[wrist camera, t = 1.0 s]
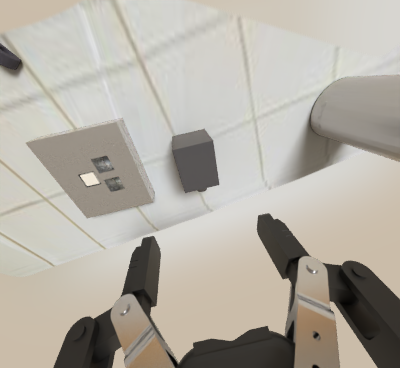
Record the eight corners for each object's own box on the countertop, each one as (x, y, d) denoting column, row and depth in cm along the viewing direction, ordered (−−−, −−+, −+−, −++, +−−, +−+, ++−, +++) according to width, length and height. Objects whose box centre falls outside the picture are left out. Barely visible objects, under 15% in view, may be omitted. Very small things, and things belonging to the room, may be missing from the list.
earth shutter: (94, 170, 25) (92, 172, 24) (101, 180, 26) (99, 183, 25) (82, 173, 25) (79, 175, 24) (89, 183, 26) (87, 186, 25)
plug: (202, 126, 26) (212, 140, 19) (209, 168, 30) (220, 192, 23) (172, 133, 26) (172, 150, 19) (183, 174, 30) (187, 200, 23)
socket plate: (122, 118, 23) (116, 121, 21) (154, 192, 31) (153, 202, 28) (41, 136, 23) (25, 142, 21) (94, 207, 31) (87, 218, 28)
